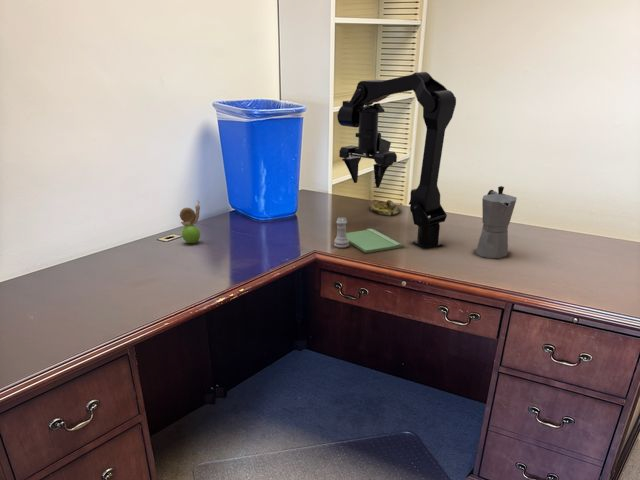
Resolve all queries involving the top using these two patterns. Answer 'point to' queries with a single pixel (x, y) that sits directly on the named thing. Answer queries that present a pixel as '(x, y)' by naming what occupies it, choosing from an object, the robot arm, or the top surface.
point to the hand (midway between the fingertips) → (366, 185)
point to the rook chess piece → (341, 234)
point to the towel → (371, 241)
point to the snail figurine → (190, 224)
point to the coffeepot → (495, 224)
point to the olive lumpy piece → (385, 208)
